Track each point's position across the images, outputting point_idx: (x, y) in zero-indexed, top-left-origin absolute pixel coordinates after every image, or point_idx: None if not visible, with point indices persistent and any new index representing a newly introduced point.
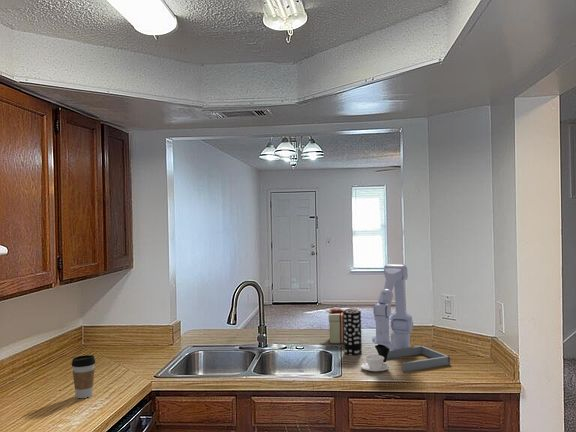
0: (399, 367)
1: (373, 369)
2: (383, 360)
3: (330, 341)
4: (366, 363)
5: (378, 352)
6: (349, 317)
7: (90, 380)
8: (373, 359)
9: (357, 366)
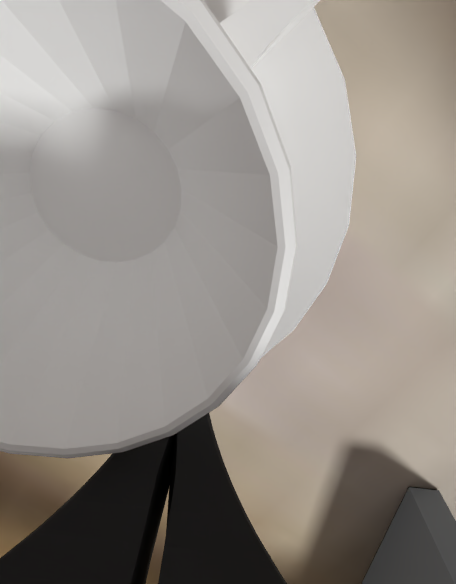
0: (59, 475)
1: (35, 110)
2: None
3: None
4: (333, 189)
5: (206, 512)
6: None
7: None
8: (206, 292)
9: (431, 29)
